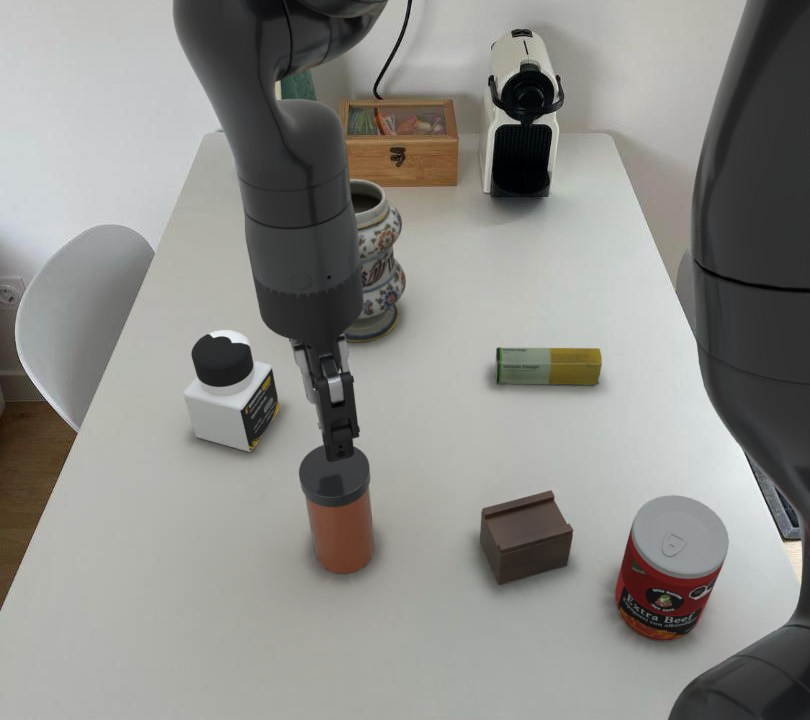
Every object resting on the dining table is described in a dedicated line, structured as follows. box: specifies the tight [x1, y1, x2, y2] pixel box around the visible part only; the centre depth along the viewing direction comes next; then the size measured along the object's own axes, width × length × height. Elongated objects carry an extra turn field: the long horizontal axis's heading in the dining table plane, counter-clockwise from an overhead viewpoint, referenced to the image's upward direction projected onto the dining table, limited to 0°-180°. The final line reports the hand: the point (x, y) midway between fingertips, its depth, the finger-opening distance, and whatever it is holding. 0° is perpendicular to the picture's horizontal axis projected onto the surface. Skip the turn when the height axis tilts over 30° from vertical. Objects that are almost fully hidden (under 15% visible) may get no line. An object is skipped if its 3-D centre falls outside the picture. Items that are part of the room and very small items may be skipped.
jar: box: [298, 444, 376, 575], centre depth 75 cm, size 12×6×6 cm
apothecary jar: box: [342, 178, 407, 343], centre depth 99 cm, size 12×12×18 cm
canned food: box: [614, 494, 730, 642], centre depth 70 cm, size 8×8×11 cm
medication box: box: [494, 346, 603, 386], centre depth 94 cm, size 12×3×4 cm, turn 86°
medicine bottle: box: [182, 329, 281, 453], centre depth 88 cm, size 7×7×12 cm
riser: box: [479, 489, 574, 586], centre depth 76 cm, size 7×5×6 cm
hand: (327, 419), depth 67 cm, fingers open, 8 cm apart
